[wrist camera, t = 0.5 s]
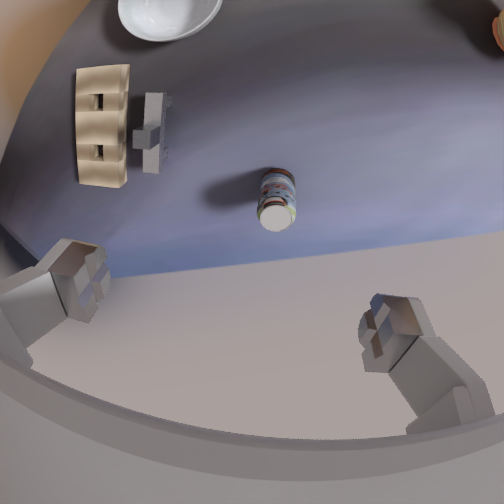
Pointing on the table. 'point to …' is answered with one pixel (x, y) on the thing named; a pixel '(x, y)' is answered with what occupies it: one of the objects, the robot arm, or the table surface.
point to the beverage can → (277, 200)
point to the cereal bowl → (166, 17)
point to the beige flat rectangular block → (102, 124)
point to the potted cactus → (499, 29)
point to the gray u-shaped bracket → (153, 132)
